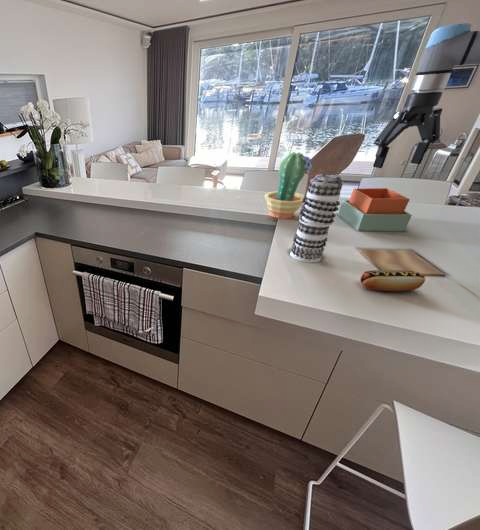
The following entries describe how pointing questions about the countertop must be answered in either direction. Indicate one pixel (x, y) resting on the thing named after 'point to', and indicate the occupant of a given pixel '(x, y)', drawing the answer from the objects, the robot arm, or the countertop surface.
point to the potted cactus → (288, 186)
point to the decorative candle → (316, 217)
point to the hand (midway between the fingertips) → (396, 165)
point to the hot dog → (392, 280)
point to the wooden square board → (400, 261)
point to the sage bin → (373, 219)
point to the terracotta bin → (378, 201)
